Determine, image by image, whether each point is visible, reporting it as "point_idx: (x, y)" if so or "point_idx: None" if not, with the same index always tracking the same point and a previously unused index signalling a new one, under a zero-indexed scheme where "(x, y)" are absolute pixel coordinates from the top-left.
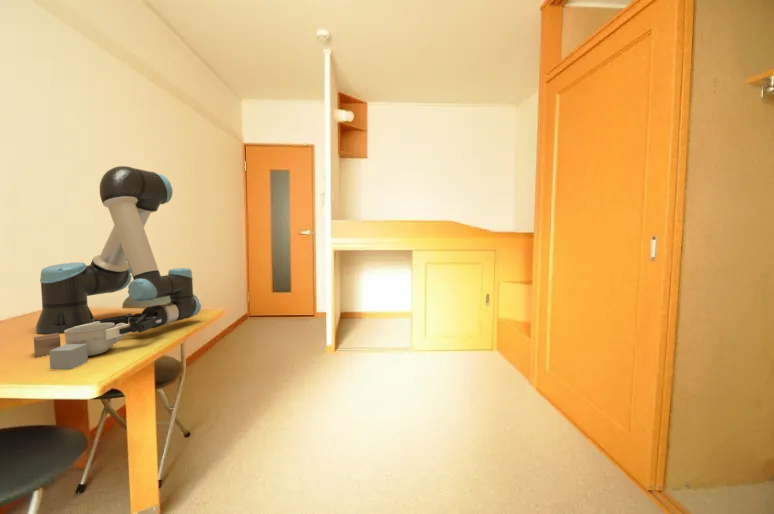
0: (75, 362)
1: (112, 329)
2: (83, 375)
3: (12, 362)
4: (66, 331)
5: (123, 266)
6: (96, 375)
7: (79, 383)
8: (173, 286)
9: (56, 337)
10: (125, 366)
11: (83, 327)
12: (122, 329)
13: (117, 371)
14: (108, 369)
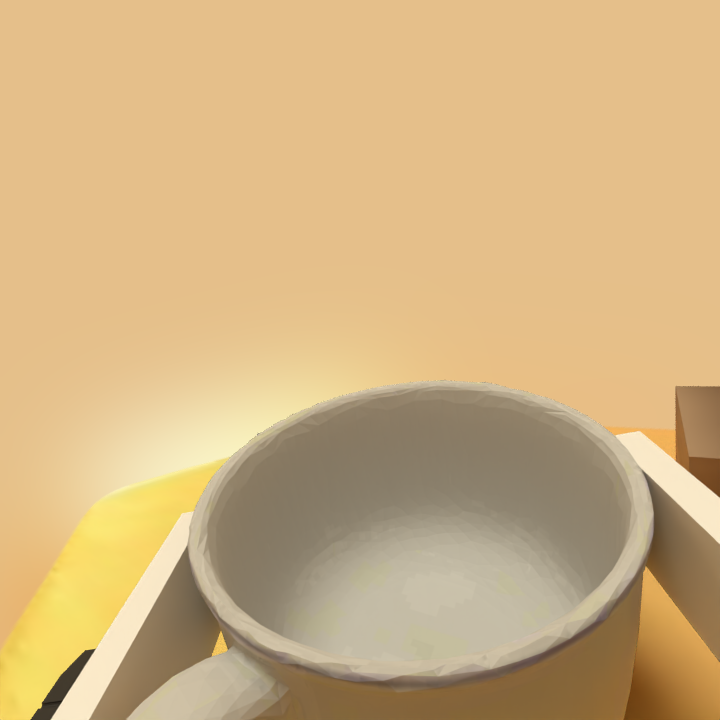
0: None
1: (159, 558)
2: (181, 509)
3: (663, 439)
4: (485, 396)
5: None
6: (128, 526)
7: (149, 486)
8: None
9: (689, 447)
10: (33, 620)
11: (623, 495)
12: (79, 657)
13: (54, 574)
14: (108, 570)
